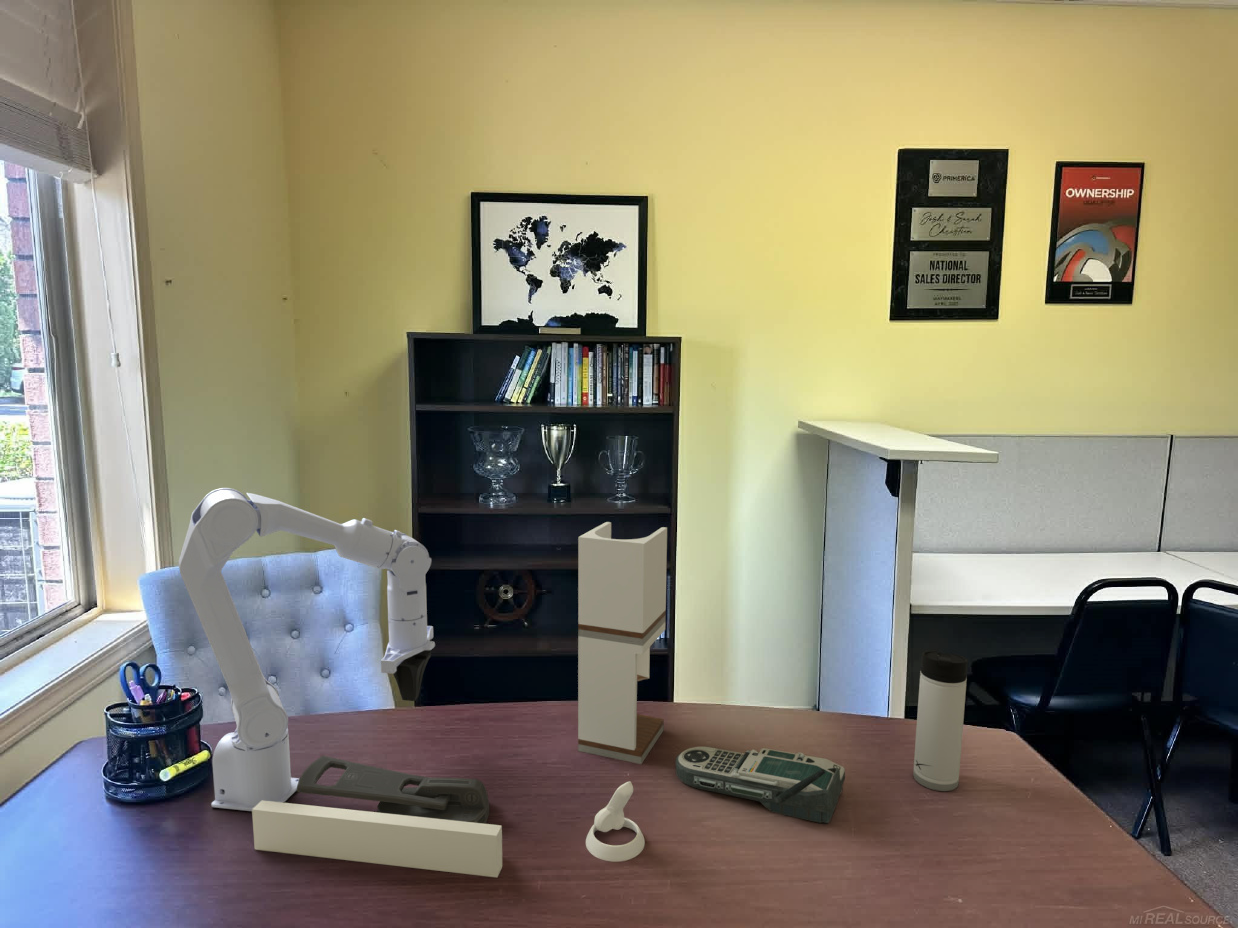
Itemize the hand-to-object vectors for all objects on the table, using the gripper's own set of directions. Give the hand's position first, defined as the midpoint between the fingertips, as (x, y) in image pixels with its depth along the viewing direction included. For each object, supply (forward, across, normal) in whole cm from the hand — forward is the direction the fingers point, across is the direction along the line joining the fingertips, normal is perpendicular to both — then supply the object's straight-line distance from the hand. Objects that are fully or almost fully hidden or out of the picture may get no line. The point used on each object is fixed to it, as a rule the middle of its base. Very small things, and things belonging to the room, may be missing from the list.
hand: (410, 698), depth 118 cm
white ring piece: (+10, -16, -35) cm, 40 cm away
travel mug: (+10, +6, -80) cm, 81 cm away
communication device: (+10, 0, -53) cm, 54 cm away
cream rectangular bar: (+9, -23, -6) cm, 25 cm away
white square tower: (+10, +10, -32) cm, 35 cm away
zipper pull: (+10, -15, -5) cm, 19 cm away
